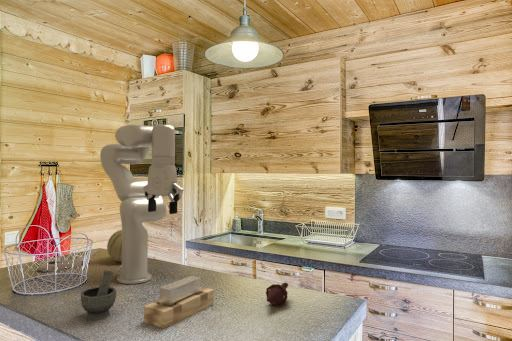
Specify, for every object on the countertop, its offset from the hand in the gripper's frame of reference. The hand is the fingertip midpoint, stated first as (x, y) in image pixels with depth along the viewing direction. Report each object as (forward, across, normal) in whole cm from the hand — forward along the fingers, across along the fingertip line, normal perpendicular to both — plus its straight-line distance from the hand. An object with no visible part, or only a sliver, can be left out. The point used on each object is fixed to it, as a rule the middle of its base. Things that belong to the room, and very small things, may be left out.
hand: (162, 212), depth 125 cm
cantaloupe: (+28, -47, +24) cm, 60 cm away
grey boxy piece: (+27, +15, -7) cm, 32 cm away
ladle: (+29, -59, +5) cm, 66 cm away
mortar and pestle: (+28, -4, -21) cm, 36 cm away
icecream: (+29, +37, +14) cm, 49 cm away
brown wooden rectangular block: (+28, +15, -7) cm, 33 cm away
